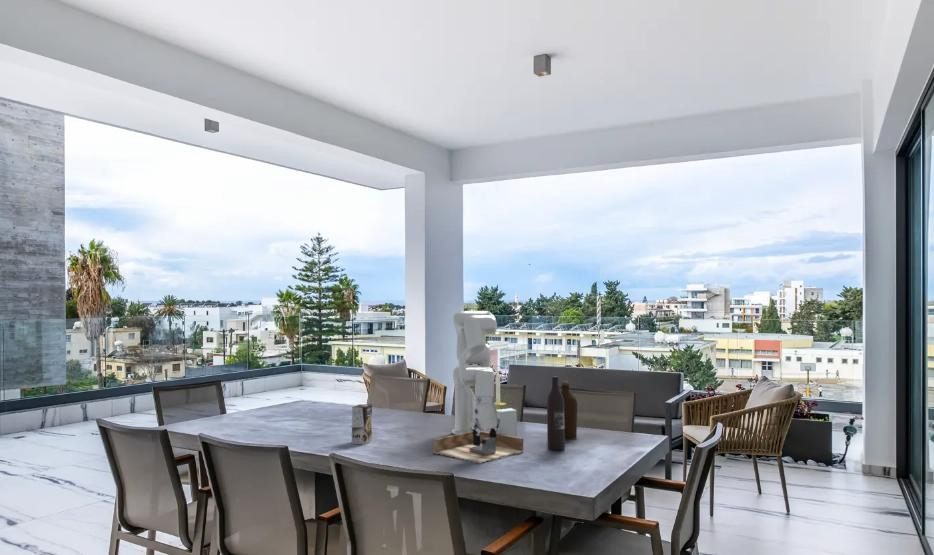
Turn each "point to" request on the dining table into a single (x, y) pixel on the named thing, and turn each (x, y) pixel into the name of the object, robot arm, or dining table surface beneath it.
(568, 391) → the olive oil
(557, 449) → the wine bottle
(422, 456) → the dining table surface
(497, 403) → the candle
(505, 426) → the skincare box
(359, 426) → the coffee box
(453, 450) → the corner arena
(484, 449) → the gray t-shaped block
